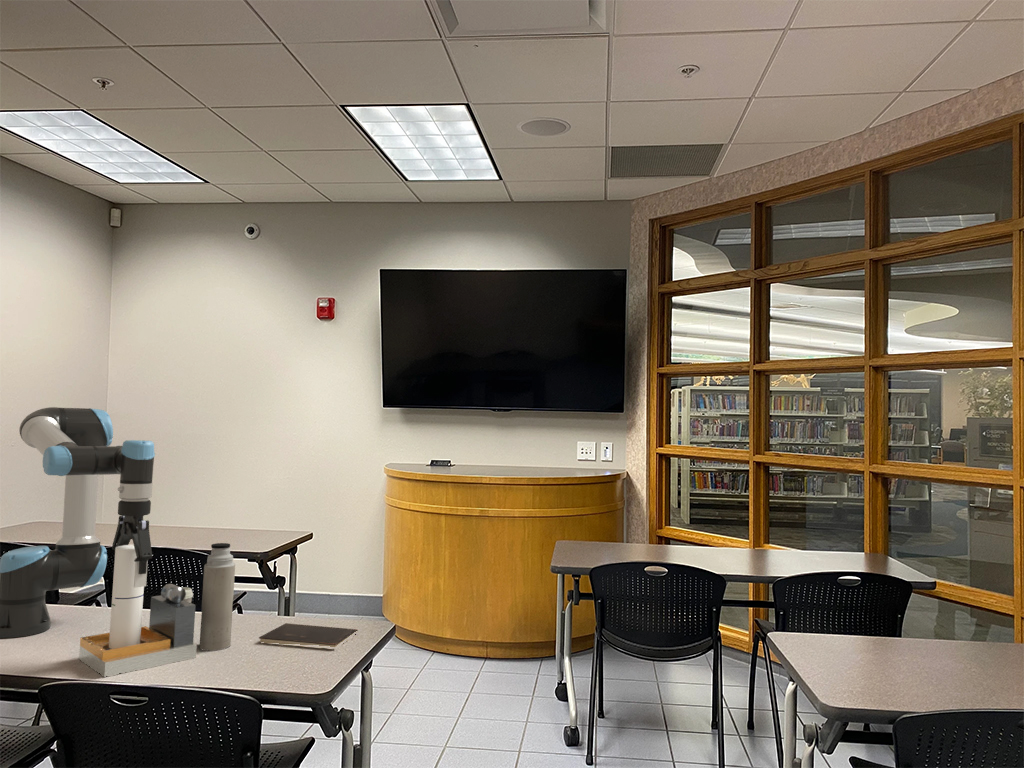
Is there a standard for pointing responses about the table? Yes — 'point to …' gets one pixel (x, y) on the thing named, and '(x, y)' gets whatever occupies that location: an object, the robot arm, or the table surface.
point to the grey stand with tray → (148, 638)
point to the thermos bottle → (217, 599)
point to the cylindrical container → (125, 601)
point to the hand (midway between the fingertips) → (129, 582)
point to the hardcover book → (307, 635)
